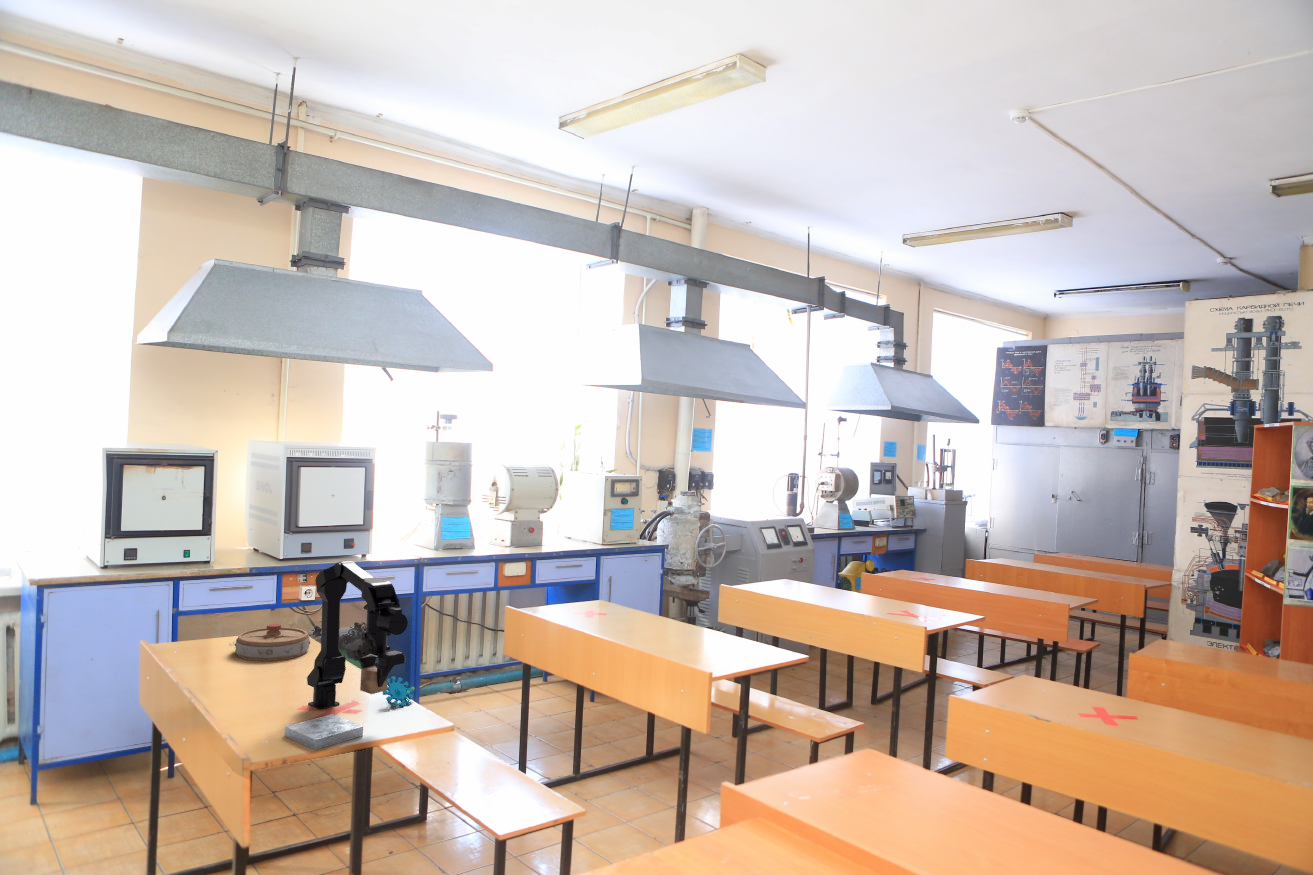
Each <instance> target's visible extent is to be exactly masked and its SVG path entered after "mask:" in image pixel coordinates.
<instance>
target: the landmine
mask: <svg viewBox="0 0 1313 875" xmlns="http://www.w3.org/2000/svg"><path fill="white" fill-rule="evenodd" d="M310 645H311V640H310V635H309V633H308V631H306V630H304V629H301V628H296V627H288V626H287V627H283V626H282V624H281V623H269V624H266V627H263V628H262V627H261V628H255V629H248V630H247V631H243V632H241V633H240V634H238V636H237V638H236V640H235V643H234V646H235V653H236V654H237V656H238V657H239V658H241V659H245V660H249V661H259V662H260V661H261V662H262V661H263V662H264V661H265V662H267V661H269V662H270V661H282V660H283V661H284V660H289V659H290V660H291V659H293V658H297V657H298V658H299V657H301V656H303V655H305V654H306V653H307V652H308V650H309V648H310Z"/></svg>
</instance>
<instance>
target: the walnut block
mask: <svg viewBox="0 0 1313 875" xmlns="http://www.w3.org/2000/svg"><path fill="white" fill-rule="evenodd" d="M360 672H361V674H360V685H359V691H361V692H363V693H367V694H369V695H374V694H379V693H383V691H387V686H388V684H387V681H388V678H389V675H388V676H387V678H386V680H385V682H384V683H383V685H382V687H378V683H377V668H376V667H375V666H370V667H365V668H362V667H361V670H360Z"/></svg>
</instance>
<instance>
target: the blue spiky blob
mask: <svg viewBox="0 0 1313 875" xmlns="http://www.w3.org/2000/svg"><path fill="white" fill-rule="evenodd" d="M403 680H404V679H403V678H402V677H398V678H397V682H395V681H396V676H393V675H392V676H391V677H390V678H389V677H388V681H387V691H383V692H382V695H383V696H387V697H386V698H385V699H386V702H388V703H391V702H392V705H393V706H394V707H396V706H397V705H398V702H400V703H399V705H398V706H399V707H400V708H403V707H404V706H405V705H409V704H410V703H411V700H413V699H412V698H413V697H414V696H413V695H412V694H411V693H412V692H413V691H415V686H411V687H408V686H409V682H408V681H405V682H404V683H401V682H403ZM406 699H407V700H408V701H407V700H406ZM392 700H394V701H392ZM409 701H410V702H409Z"/></svg>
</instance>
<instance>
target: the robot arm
mask: <svg viewBox="0 0 1313 875" xmlns="http://www.w3.org/2000/svg"><path fill="white" fill-rule="evenodd" d="M348 583H349V584H351V585H352V586H353V587H355V588H357V589H358V590H359V591H360V593H361V598H362V599H363V600H364V602H365V603H366V604H365V605H364V606H363V610H366V620H365V621H366V624H365V630H363V631H362V633H361V637H360V638H359V639H356V640H354V641H353V642H349V644H348V645H346V646H345V647H344V649H345V653H346V656H347V658H346V656H345V655H343V654H342V653H341V651H340V623H341V622H340V618H341V617H340V616H341V615H340V614H341V600H342V599H343V597H344V595H345V593H346V592H347V588H348ZM315 587H316V593H317V595H318V596H319V598H320V599H321V602H322V604H321V630H320V633H321V635H320V637H321V638H320V650H319V652H318V654H317V656H316V657H315V659H314V662H313V669H312V670H311V671H310V673H308V675H307V677H306V683H307V686H310V687H312V688H313V696H312V701H311V702H307V705H308V706H311V707H313V708H316V709H319V710H324V709H327V708H331V707H334V706H339V705H340V702H339V701H336V696H337V692H336V690H337V689H336V688H337V685H336V684H342V683H343V682H344V677H345V675H346V670H347V669H346V662H347V661H346V660H347V659H352V660H353V661H357V662H358V663H359V665H360V667H361V668H365V667H370V666H375V667H376V668H377V683H378V687H382V685H383V683H384V682H385V680H386V678H387V676H388V677H389V674H390V672H391V671H392V669H393V668H394V667H395V666H398V665H402V664H403V665H404V664H405V663H406V654H405V653H404V652H400V651H398V650H391V646H390V645H388V636H391V635H394V636H399V635H402V634H403V633H404V632H405V631H406V629H407V627H408V623H409V621H408V618H407V617H406V615H405V614H403V610H402V608H401V607H400V606H401V604H400V598H398V595H397V592H396V590H395V587H394V585H393V583H392V582H391V581H388V580H386V579H384V578H383V579H382V578H376V577H374V576H372V575H371V574H370V573H368V572H366V570H364V569H362V568H361V567H360V566H358V565H357V564H356V562H355V561H352V560H345V561H344V560H343V561H338V562H336V563H334V565H333V566H330V567H328V568H325V569H324V570H321V571H319V573H318V574H317V575H316V576H315ZM377 659H378V662H377Z"/></svg>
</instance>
